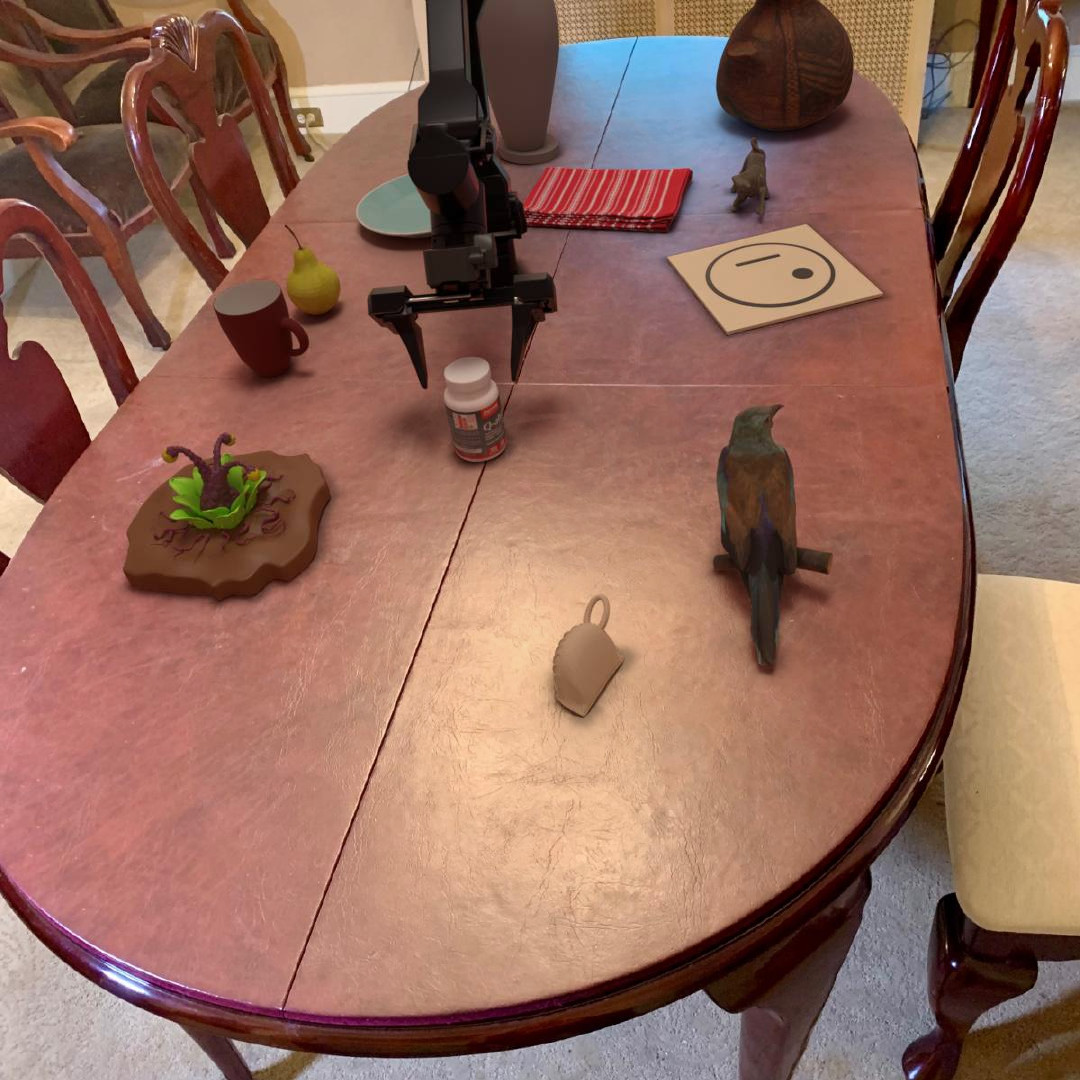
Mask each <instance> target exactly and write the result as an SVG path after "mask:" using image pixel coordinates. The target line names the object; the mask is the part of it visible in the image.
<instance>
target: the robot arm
mask: <svg viewBox="0 0 1080 1080" xmlns="http://www.w3.org/2000/svg"><path fill="white" fill-rule="evenodd" d="M424 1H425V17H426V39H427V40H426V42H427V61H428V62H427V64H428V83H427V85H426V86H425V87H424V89H423V91H422V92H421V94H420V96H419V97H418V98H417V123H414V124H413V127H412V131H411V138H410V143H409V144H410V145H409V151H408V160H407V163H406V164H407V165H406V168H407V174H409V176H410V178H411V180H412V182H413V184H414V185H415V187H416V189H417V191H418V192H419V194H420V196H421V198H422V199H423V201H424V203H425V205H426V206H427V208H428V209H430V220H431V237H430V239H431V240H430V245H431V246H430V247H431V248H430V249H426V250H422V255H423V256H422V257H423V264H424V271H425V272H424V273H425V280H426V285H427V286H429V288H430V289H431V290H434V292H433V293H432V292H431V293H423V294H413V293H412V291H411V290H410V289H409V287H408V286H407V285H406V284H403V285H394V286H382V287H374V288H372V289H371V291H369V293H368V296H367V316H369V317H370V319H372V321H374V322H375V323H376V324H378V325H379V326H380V327H381V328H385V329H386V328H387V329H388V330H389V331H390V332H391V333H392V334H393V335H398V336H399V337H400V339H401V341H402V343H403V345H404V347H405V349H406V351H407V353H408V356H409V358H410V361H411V364H412V366H413V369H414V371H415V373H416V376H417V379H418V381H419V384H420V386H421V388H422V389H423V390H428V389H429V373H428V367H427V359H426V358H427V357H426V352H425V343H424V337H423V329H422V327H421V325H419V324H418V323H417V322H416V321H417V320H418V319H419V315H422V314H423V315H424V314H435V313H446V312H456V311H468V310H478V309H489V308H501V307H502V308H503V307H511V342H510V364H509V365H510V377H511V378H510V379H511V382H512V383H516V382H517V381H518V377H519V374H520V370H521V367H522V363H523V360H524V357H525V353H526V349H527V346H528V343H529V341H530V339H531V337H532V334H533V333H534V330H535V328H536V325H537V324H538V323H543V322H545V321H546V320H547V319H546V315H547V314H555V313H557V312H558V311H559V309H558V295H557V288H556V284H555V281H554V277H553V276H552V275H550V274H549V272H548V271H543V272H534V273H523V271H522V269H521V267H520V265H519V263H518V261H517V255H516V248H515V247H516V246H515V239H517V240H522V239H523V237H522V236H523V235H524V234H526V233H527V232H528V226H527V222H526V215H525V211H524V206H523V203H524V202H522V201H521V200H520V198H519V196H518V193H517V191H516V190H515V191H513V190H512V182H511V176H510V174H509V173H508V171H507V170H506V169H505V167H504V166H503V165H502V163H501V162H500V160H499V159H498V157H496V153H495V152H496V145H497V131H496V127H495V126H494V125H492V118H491V109H490V100H489V97H488V93H487V84H486V76H485V67H484V59H483V51H482V42H481V34H480V25H479V22H480V19H481V16H482V14H483V11H484V8H485V6H486V3H487V0H424Z"/></svg>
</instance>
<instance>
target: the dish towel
mask: <svg viewBox="0 0 1080 1080" xmlns="http://www.w3.org/2000/svg"><path fill="white" fill-rule="evenodd" d="M693 176H694V171H693V170H692V169H691V168H689V167H684V168H671V169H666V168H665V169H664V168H662V169H661V168H653V169H652V168H651V169H642V168H641V169H640V168H638V169H637V168H635V169H632V168H630V169H629V168H619V169H616V168H611V169H610V168H605V169H603V168H602V169H600V168H599V169H597V168H588V169H587V168H569V167H561V166H557V167H556V166H555V167H554V166H547V167H545V168H544V171H543V172H542V174H541V175H540V177H539V179H538V180H537V181H536V183H535V184H534V186H533V187H532V189H531V190H530V192H529V193H528V195H527V196H526V199H525V200H524V201H523V202H522V203H523V206H524V211H525V215H526V222H527V227H548V228H549V227H556V228H572V229H573V228H577V229H591V230H592V229H594V230H615V231H618V230H619V231H631V232H658V233H667V232H669V229H670V226H671V224H672V222H673V220H674V219H675V217H676V215H677V214H678V212H679V209H680V206H681V204H682V201H683V199H684V197H685V194H686V193H687V190H688V187H689V185H690V184H691V182H692V181H693V178H694V177H693Z"/></svg>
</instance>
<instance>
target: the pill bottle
mask: <svg viewBox="0 0 1080 1080" xmlns="http://www.w3.org/2000/svg"><path fill="white" fill-rule="evenodd" d="M491 371H492V370H491V368H490V364H489V363H488V361H487V360H486V359H484V358H483V357H478V356H464V357H460V358H457V359H455V360H454V361H451V362H449V364H447V365H446V367H445V368H444V370H443V377H444V382H445V385H446V387H445V389H444V392H443V402H444V407H445V412H446V417H447V420H448V425H449V429H450V435H451V439H452V444H453V448H454V451H455V453H456V455H457V456H458V457H460V458H461V459H462V460H464V461H468V462H473V463H481V462H487V461H490V460H493V459H495V458H497V457H498V456H499V455H500V454H502V453H503V452H504V450H505V449H506V447H507V444H508V442H507V441H508V440H507V432H506V426H505V421H504V413H503V408H502V404H501V397H500V391H499V388H498V385H497V383H496V382H495V381H494V380H493V379H492V372H491Z"/></svg>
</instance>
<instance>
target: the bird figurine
mask: <svg viewBox="0 0 1080 1080" xmlns="http://www.w3.org/2000/svg"><path fill="white" fill-rule="evenodd" d="M782 408H785V405H784V404H782V403H777V404H773V405H769V406H766V405H756V406H751V407H748V408H746V409H743V410H741V411H740V412H739V413H737V414H736V415H735V417H734V420H733V424H732V428H731V429H732V430H731V432H730V433H731V435H730V437H729V440H728V444H727V445H726V446H724V447H723V448H722V449H721V450H720V454H719V457H718V461H717V470H716V489H717V496H718V504H719V505H718V506H719V509H720V543H721V547H722V548H723V550H724V551H725V552H726V553H723V554H716V555H714V556H713V558H712V566H713V569H714V570H716V571H726V570H737V571H738V575H739V577H740V579H741V582H742V584H743V586H744V588H745V591H746V593H747V595H748V598H749V599H750V610H749V611H750V614H751V615H750V626H749V627H750V630H749V631H750V637H751V639H752V642H753V644H755V645H754V646H755V653H756V656H757V660H758V664H759V665H761V666H763V665H764V666H774V665H775V664H776V662H775V661H776V658H777V653H778V645H779V638H780V622H781V615H780V600H781V598H782V597H781V596H782V591H783V587H784V583H785V577H786V576H789V577H790V576H792V575H794V574H795V573H796V570H797V569H798V570H805V571H809V572H815V573H818V574H822V575H823V574H824V575H830V574H831V570H832V567H833V562H834V554H833V553H832V552H830V551H829V552H828V551H820V550H816V549H813V548H812V549H811V548H806V547H797V544H798V537H797V523H796V520H797V519H796V516H797V504H796V491H795V483H794V482H795V480H794V479H795V478H794V469H793V465H792V462H791V459H790V456H789V453H788V451H787V450H786V449H785V447H784V446H783V445H781V444H776V443H775V441H774V439H773V436H772V428H773V426H774V421H773V419H774V417H775V416H776V415H777V413H778V412H779V410H781V409H782ZM785 575H786V576H785Z"/></svg>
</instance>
